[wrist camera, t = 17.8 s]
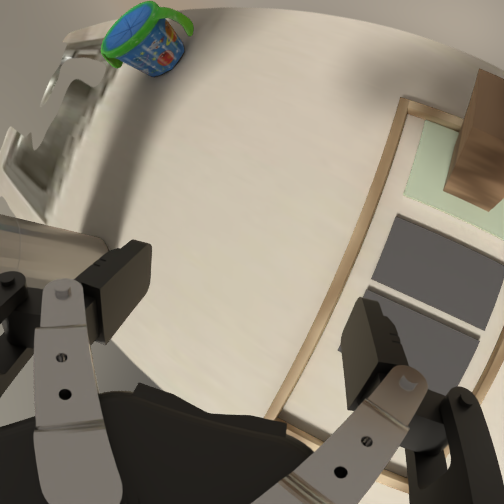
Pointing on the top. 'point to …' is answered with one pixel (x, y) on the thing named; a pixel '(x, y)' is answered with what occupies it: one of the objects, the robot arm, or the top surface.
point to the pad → (434, 177)
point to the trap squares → (436, 299)
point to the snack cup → (146, 39)
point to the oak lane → (500, 352)
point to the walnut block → (480, 147)
